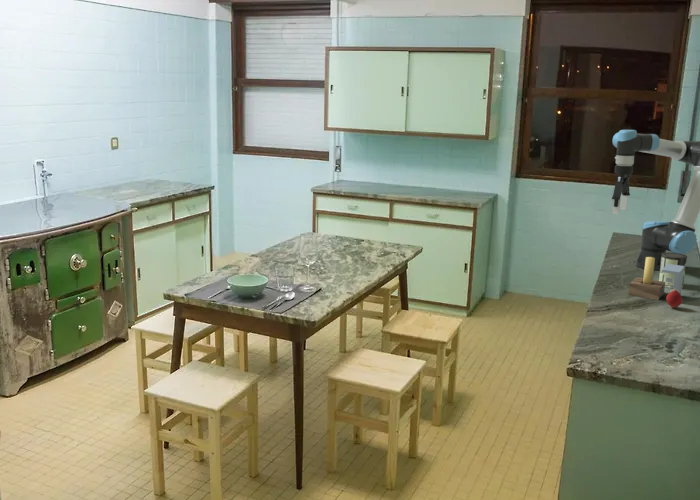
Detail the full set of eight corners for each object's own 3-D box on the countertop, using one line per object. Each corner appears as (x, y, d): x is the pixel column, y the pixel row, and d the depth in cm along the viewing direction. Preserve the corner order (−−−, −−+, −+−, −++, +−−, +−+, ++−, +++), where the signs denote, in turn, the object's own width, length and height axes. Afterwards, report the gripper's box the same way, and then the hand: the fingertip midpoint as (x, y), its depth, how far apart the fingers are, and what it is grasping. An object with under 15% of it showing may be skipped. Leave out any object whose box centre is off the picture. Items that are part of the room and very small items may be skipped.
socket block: (634, 288, 291) (635, 277, 290) (664, 293, 285) (665, 281, 284) (628, 294, 282) (629, 283, 281) (658, 299, 275) (659, 288, 274)
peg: (651, 293, 284) (655, 257, 280) (649, 295, 281) (654, 259, 277) (642, 292, 286) (646, 256, 282) (640, 294, 283) (644, 258, 279)
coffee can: (679, 282, 301) (683, 252, 297) (686, 289, 291) (690, 258, 287) (655, 281, 303) (659, 251, 299) (661, 287, 293) (665, 257, 289)
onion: (680, 306, 267) (682, 287, 265) (682, 311, 261) (684, 291, 259) (664, 305, 268) (666, 286, 267) (665, 309, 263) (668, 290, 261)
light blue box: (664, 293, 285) (667, 263, 282) (680, 295, 281) (684, 266, 278) (658, 299, 275) (662, 269, 272) (675, 302, 272) (679, 272, 268)
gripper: (622, 162, 306) (617, 207, 311) (608, 166, 286) (603, 214, 291) (639, 163, 302) (634, 208, 306) (626, 167, 282) (621, 216, 287)
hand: (619, 211), depth 299 cm, fingers open, 13 cm apart
